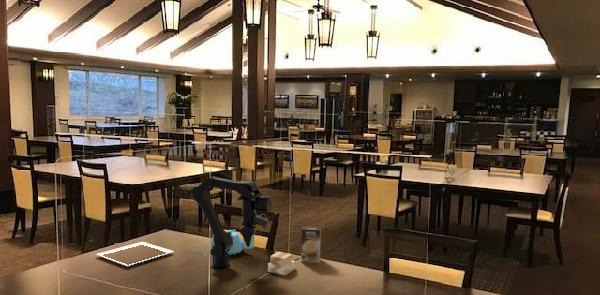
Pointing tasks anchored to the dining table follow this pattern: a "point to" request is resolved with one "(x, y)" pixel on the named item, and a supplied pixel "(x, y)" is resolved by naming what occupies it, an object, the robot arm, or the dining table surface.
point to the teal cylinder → (250, 243)
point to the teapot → (237, 243)
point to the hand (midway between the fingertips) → (248, 244)
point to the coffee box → (310, 244)
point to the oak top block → (280, 258)
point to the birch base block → (281, 268)
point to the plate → (135, 246)
